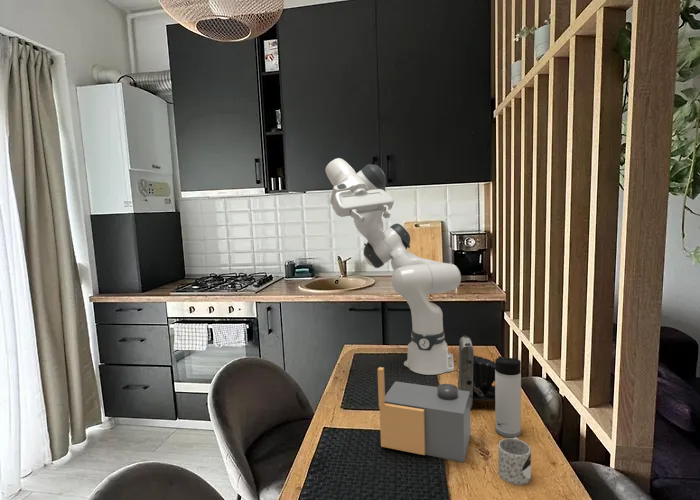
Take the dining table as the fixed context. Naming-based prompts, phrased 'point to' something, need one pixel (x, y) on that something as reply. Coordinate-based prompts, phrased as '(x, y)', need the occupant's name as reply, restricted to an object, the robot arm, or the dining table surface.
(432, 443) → the housing
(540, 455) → the dining table surface
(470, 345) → the vintage camera
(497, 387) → the travel mug
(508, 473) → the mug
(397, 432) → the side door
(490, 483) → the dining table surface
